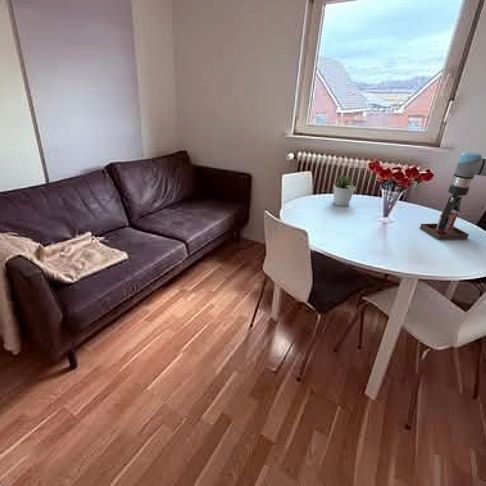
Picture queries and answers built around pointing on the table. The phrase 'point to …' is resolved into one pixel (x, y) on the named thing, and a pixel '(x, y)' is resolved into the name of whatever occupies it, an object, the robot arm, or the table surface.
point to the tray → (433, 232)
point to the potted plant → (343, 191)
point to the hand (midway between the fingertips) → (445, 226)
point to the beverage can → (448, 223)
